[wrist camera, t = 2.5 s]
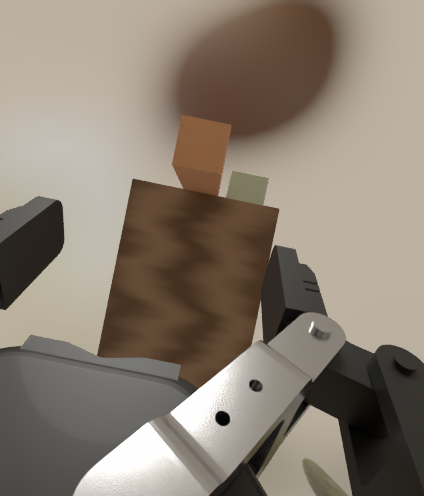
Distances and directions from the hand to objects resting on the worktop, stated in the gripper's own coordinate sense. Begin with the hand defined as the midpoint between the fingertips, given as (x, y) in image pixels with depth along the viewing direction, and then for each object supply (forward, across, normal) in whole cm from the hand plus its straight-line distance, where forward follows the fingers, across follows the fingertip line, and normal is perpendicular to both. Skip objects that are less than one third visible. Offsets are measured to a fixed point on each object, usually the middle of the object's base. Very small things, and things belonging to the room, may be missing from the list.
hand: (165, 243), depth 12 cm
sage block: (+24, -4, +9) cm, 26 cm away
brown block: (+18, 0, +5) cm, 19 cm away
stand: (+6, 0, +35) cm, 36 cm away
